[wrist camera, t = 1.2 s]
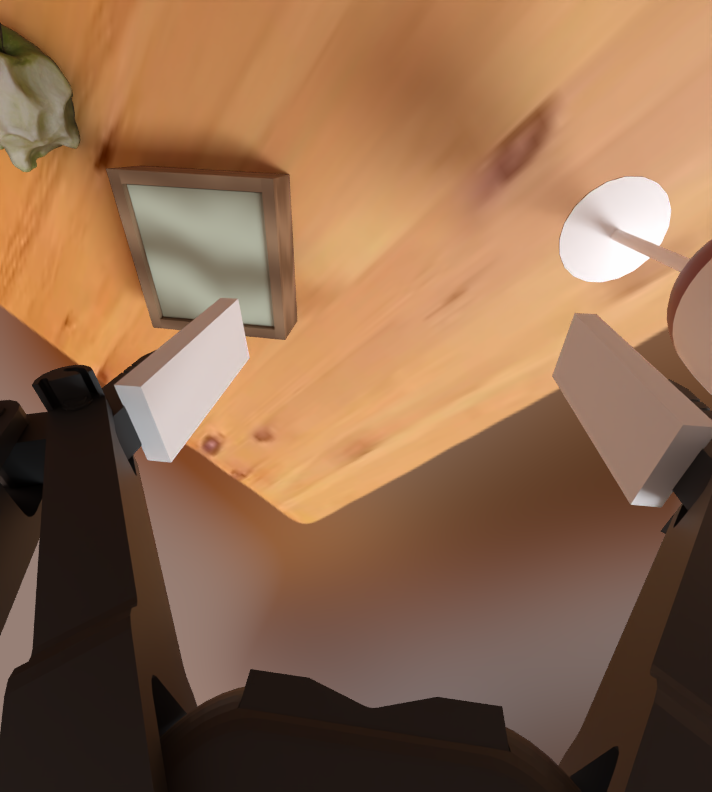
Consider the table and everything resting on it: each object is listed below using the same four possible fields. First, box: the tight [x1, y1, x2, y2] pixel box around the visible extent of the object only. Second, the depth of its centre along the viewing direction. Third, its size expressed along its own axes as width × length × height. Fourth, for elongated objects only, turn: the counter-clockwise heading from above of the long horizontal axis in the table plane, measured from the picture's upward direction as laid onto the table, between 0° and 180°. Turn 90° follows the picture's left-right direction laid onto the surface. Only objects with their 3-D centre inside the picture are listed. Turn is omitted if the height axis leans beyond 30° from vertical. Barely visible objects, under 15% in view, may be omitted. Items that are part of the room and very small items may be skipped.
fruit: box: [0, 23, 80, 172], centre depth 29 cm, size 9×9×8 cm
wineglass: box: [560, 176, 712, 395], centre depth 23 cm, size 9×10×23 cm
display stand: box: [106, 166, 297, 340], centre depth 35 cm, size 14×14×5 cm
